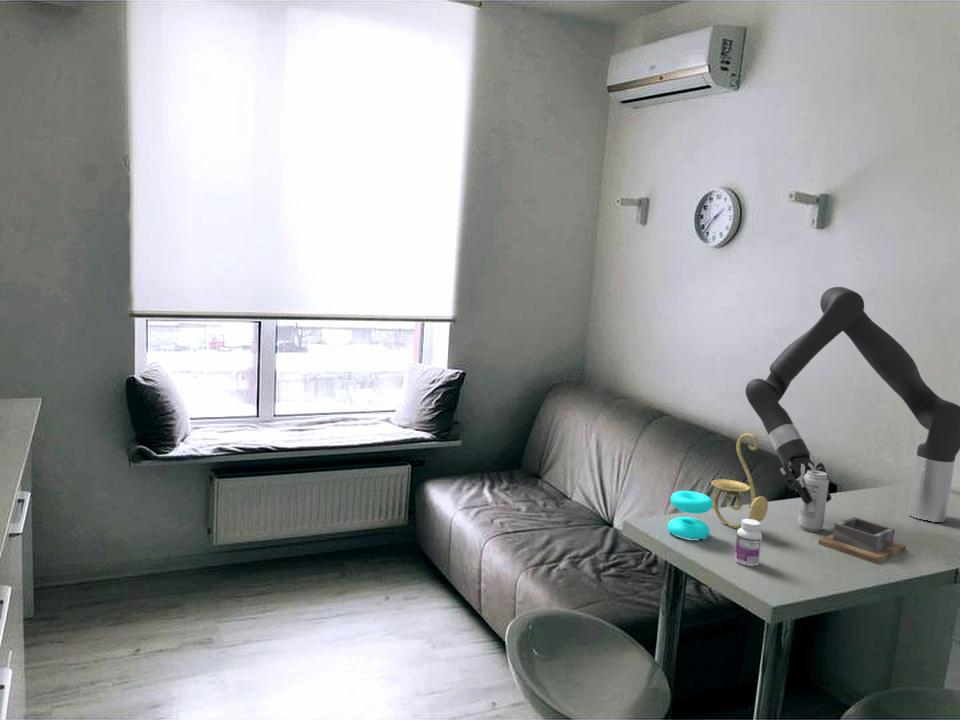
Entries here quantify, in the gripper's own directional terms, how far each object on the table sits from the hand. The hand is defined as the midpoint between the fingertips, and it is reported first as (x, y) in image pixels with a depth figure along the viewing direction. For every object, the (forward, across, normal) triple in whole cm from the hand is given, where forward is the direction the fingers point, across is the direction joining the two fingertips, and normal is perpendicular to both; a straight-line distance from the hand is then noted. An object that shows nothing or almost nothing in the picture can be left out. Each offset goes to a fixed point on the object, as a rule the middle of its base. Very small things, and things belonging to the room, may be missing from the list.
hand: (818, 501), depth 204 cm
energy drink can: (+4, 0, +7) cm, 8 cm away
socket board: (+14, +3, -3) cm, 15 cm away
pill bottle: (+14, -34, -2) cm, 37 cm away
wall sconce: (0, -20, +11) cm, 23 cm away
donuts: (+1, -36, +10) cm, 37 cm away
